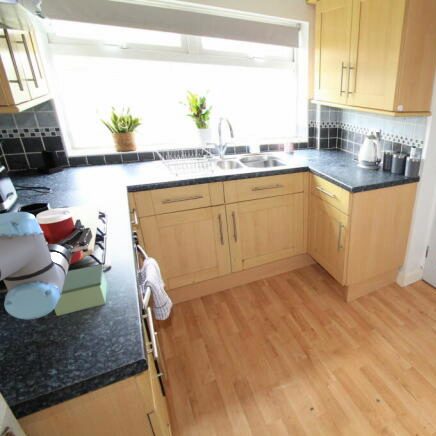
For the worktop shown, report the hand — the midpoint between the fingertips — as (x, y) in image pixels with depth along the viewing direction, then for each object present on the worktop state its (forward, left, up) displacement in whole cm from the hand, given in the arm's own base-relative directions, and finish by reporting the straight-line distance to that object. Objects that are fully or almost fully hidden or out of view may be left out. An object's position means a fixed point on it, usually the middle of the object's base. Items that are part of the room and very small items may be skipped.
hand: (63, 226), depth 89 cm
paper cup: (0, -5, -8) cm, 10 cm away
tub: (0, -5, -22) cm, 22 cm away
